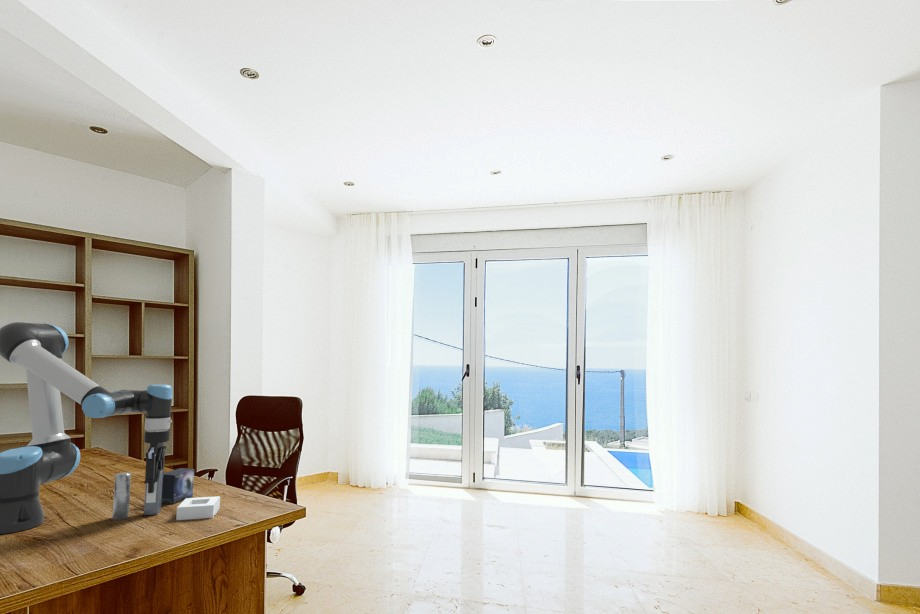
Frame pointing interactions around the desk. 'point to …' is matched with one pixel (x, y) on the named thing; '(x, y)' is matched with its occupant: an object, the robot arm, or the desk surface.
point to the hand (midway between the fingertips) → (153, 500)
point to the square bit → (156, 506)
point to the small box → (177, 485)
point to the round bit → (121, 496)
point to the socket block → (198, 508)
